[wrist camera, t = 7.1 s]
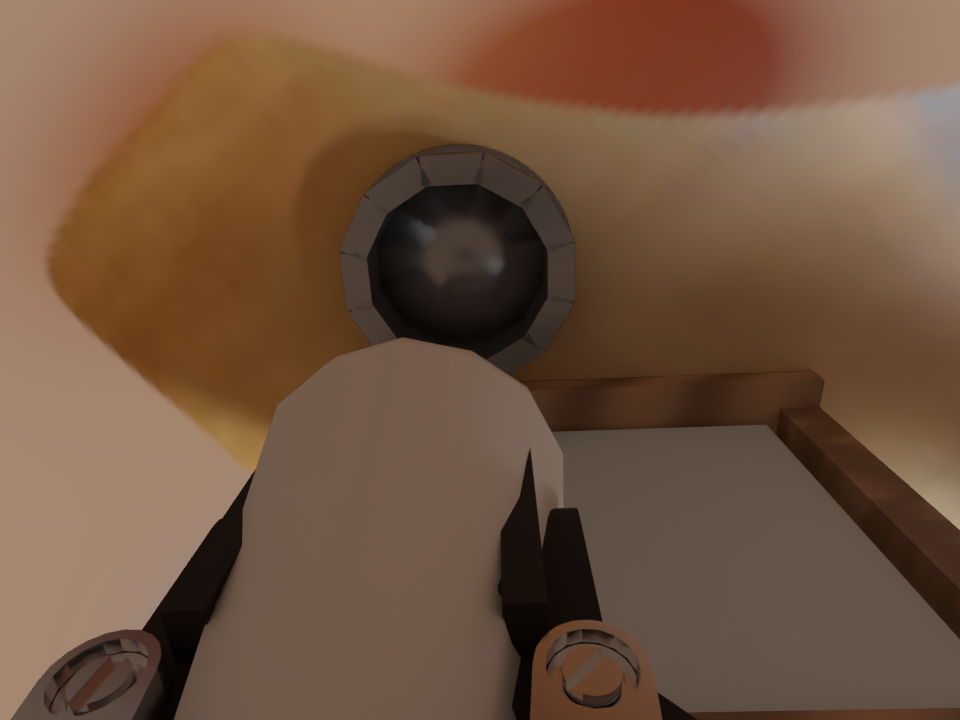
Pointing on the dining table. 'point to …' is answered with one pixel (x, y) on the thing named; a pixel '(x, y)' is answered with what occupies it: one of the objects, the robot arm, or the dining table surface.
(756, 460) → the door
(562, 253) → the socket
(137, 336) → the dining table surface
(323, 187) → the dining table surface
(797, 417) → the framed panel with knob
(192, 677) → the salt shaker
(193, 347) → the dining table surface
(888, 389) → the dining table surface
